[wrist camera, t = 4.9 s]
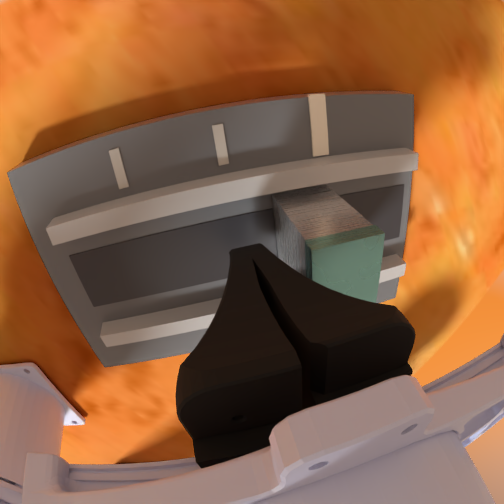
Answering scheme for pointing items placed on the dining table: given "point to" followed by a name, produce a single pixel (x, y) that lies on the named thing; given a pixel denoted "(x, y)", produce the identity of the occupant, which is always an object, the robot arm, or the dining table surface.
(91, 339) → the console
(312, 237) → the fader tab
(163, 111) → the dining table surface
